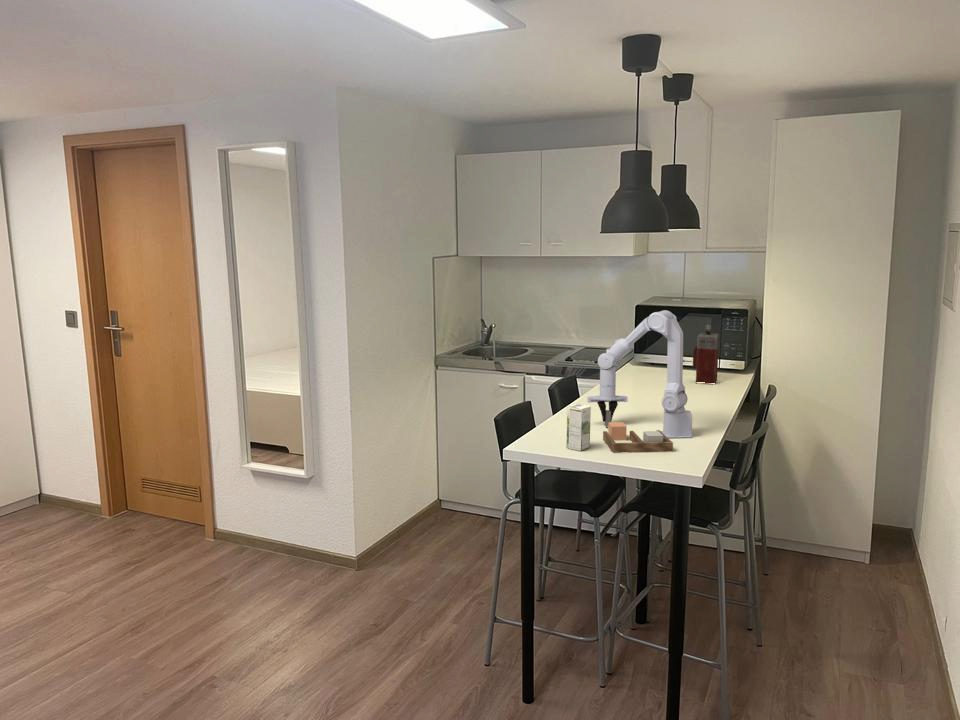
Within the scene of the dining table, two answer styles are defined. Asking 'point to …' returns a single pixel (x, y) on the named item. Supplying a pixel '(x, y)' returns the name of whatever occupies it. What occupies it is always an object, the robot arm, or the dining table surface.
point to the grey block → (652, 436)
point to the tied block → (615, 428)
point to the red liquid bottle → (706, 356)
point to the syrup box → (578, 427)
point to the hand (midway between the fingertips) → (607, 421)
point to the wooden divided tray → (638, 444)
